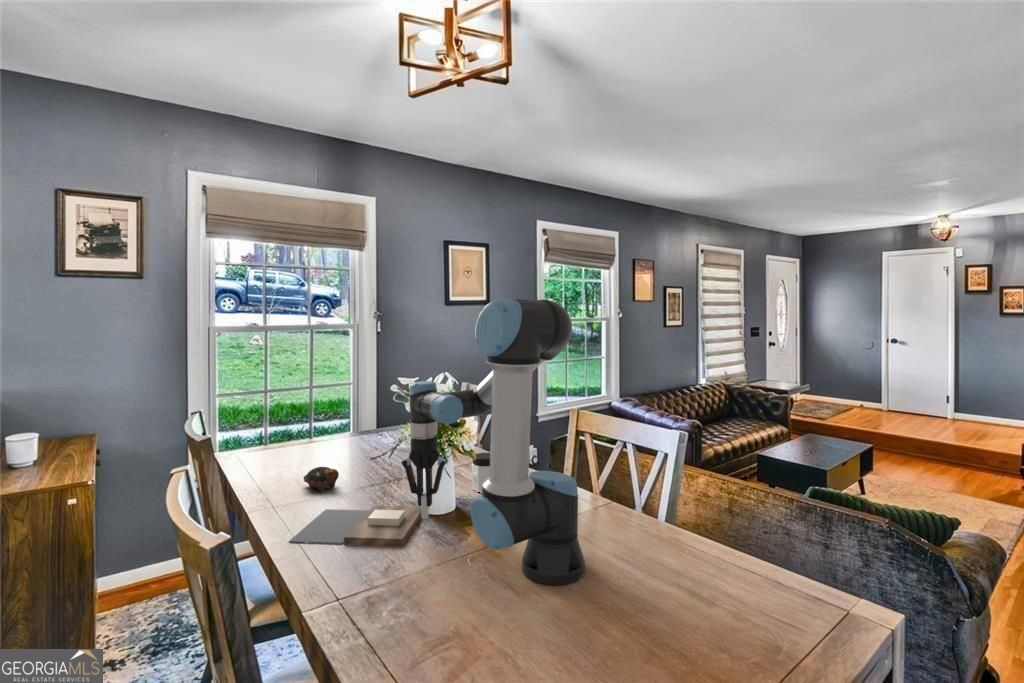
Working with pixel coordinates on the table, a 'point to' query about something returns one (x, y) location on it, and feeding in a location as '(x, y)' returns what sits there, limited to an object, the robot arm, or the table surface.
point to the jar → (480, 470)
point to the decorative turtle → (321, 478)
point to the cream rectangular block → (386, 517)
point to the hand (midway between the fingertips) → (425, 516)
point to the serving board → (384, 528)
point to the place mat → (330, 526)
